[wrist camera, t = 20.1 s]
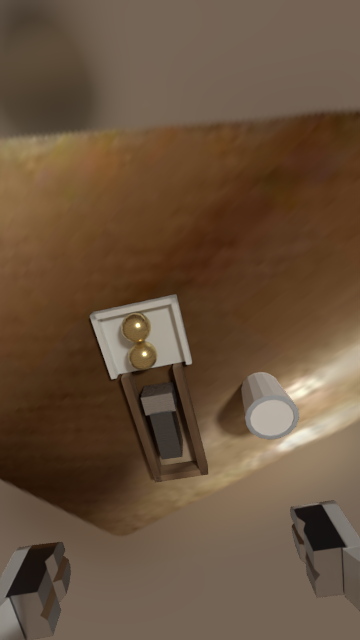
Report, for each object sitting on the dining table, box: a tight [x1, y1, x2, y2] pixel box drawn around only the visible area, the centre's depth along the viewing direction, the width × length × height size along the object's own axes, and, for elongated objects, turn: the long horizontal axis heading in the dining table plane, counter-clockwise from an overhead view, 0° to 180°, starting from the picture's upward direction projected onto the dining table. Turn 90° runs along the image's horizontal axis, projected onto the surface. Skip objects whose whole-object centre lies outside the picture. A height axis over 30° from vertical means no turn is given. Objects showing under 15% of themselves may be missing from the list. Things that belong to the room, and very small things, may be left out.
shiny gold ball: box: [121, 313, 151, 343], centre depth 39 cm, size 4×4×4 cm
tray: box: [89, 294, 192, 379], centre depth 41 cm, size 12×10×2 cm
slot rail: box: [121, 362, 208, 482], centre depth 45 cm, size 9×20×2 cm, turn 13°
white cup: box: [241, 372, 299, 439], centre depth 41 cm, size 7×7×7 cm
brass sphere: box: [128, 341, 158, 370], centre depth 40 cm, size 4×4×4 cm
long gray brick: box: [141, 382, 183, 459], centre depth 44 cm, size 4×4×11 cm
